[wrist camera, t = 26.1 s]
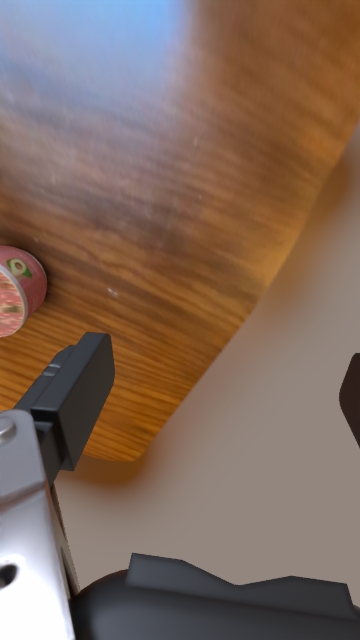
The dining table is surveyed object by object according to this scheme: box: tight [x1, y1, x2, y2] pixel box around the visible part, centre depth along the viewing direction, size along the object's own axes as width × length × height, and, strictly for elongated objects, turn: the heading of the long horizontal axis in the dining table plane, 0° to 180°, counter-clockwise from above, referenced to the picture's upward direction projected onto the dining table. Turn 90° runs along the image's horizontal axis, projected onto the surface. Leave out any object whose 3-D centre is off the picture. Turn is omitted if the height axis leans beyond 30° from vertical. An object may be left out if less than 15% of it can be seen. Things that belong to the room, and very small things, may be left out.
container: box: [0, 245, 47, 337], centre depth 38 cm, size 10×10×8 cm
